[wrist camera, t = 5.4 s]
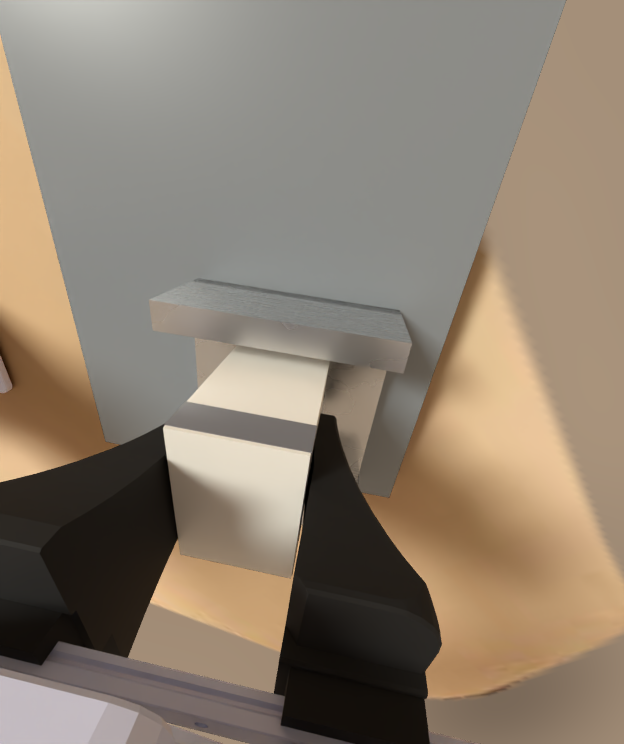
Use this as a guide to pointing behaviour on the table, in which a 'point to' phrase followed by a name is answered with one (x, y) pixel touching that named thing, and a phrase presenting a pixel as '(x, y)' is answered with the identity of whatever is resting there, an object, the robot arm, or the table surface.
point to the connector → (246, 459)
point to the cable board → (269, 168)
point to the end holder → (295, 342)
